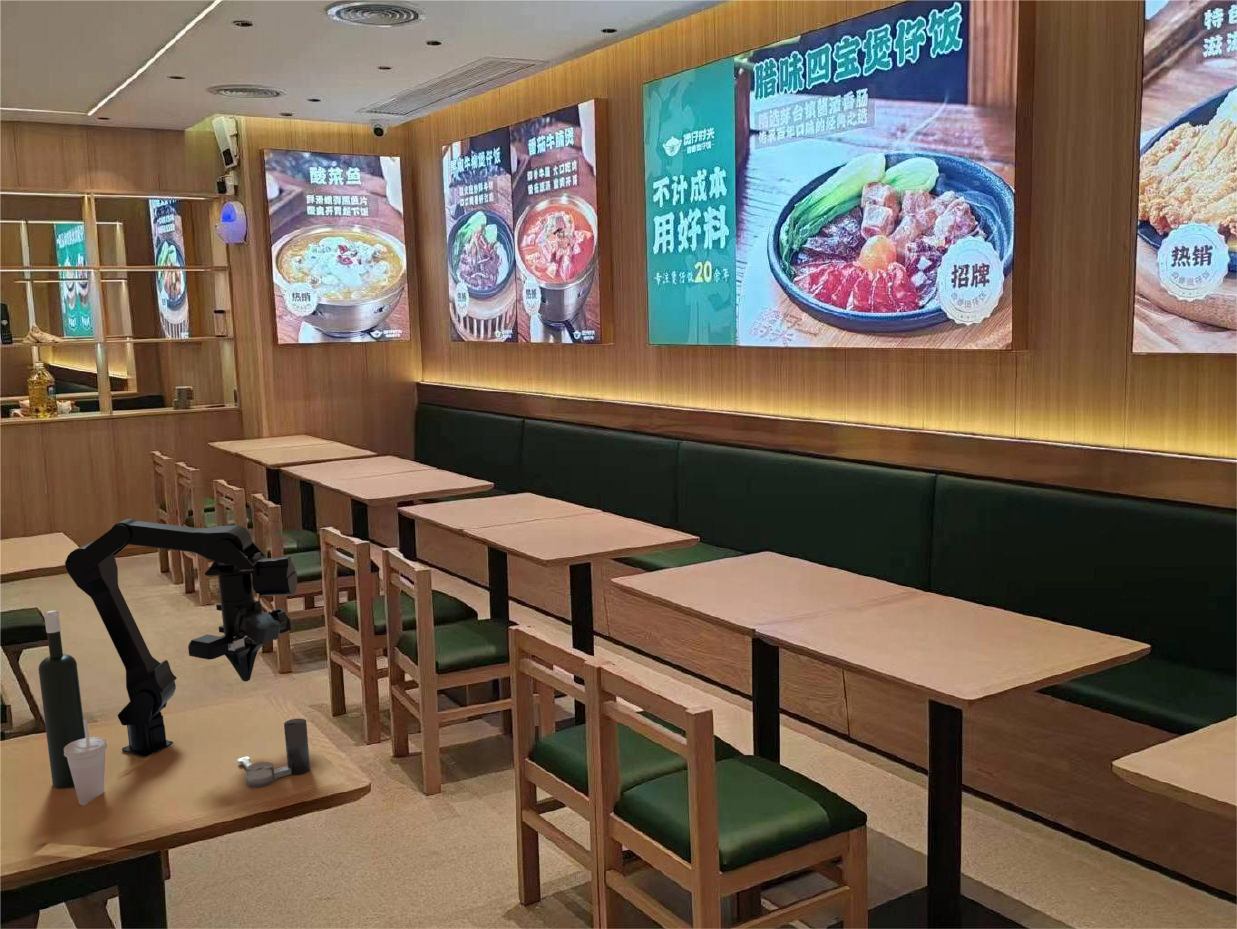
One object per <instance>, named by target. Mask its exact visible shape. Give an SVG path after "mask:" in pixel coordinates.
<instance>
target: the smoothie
mask: <svg viewBox="0 0 1237 929" xmlns="http://www.w3.org/2000/svg"><path fill="white" fill-rule="evenodd" d="M83 722H84V730H85V738H84V739H80V740H76V741H74V742H71V743H69V744H68V745H66V746H65V747H64V756H65V757H67V760H68V764H69V767H70V771H71V775H72V778H73V782H74V786H75V787H74V789H75V792H76V796H77V800H78V804H79V806H83V807H85V806H86V805H87V804H89V803H90V802H92V801H93V800H95V799H96V798H97V797H99V796H101V795H102V794H104V793H105V774H106V773H105V772H106V769H105V768H106V749H107V747H108V744H107V739H105V738H103V737H97V736H96V737H95V736H93V737H90V733H89V726H88V725H89V724H88V718H83Z"/></svg>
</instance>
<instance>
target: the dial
mask: <svg viewBox="0 0 1237 929" xmlns="http://www.w3.org/2000/svg"><path fill="white" fill-rule="evenodd" d="M283 726H284V728H283V730H284V739H285V750H286V761H287V762H286V763H287V764H286V765H285V766H281V767H277V768H275V766H274V763H272V762H270V761H269V762H268V761H262V762H261V761H260V762H256V763H252V762H251V758H250V757H249V756H243V757H241V758H238V759H237V760H236V761H237V764H238V765H239V766H243V767H244V768H245V775H246V785H247V786H248V787H250V788H262V787H266V786H269V785H271V784H273V783H275V780H276V779H279V778H283V777H288V776H289V775H290V776H291V775H292V776H299V775H304V774H306V773H309V771H311V763H310V762H311V761H310V760H311V759H310V749H309V738H308V726H307V720H306V719H305V718H292V719H289V720H287V721H285V722H284V723H283Z"/></svg>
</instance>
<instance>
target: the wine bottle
mask: <svg viewBox="0 0 1237 929" xmlns="http://www.w3.org/2000/svg"><path fill="white" fill-rule="evenodd" d="M43 615H44V624H45V632H46V633H47V634H46V636H47V644H48V652H49V656H47V657H45V658H44V659H43V660H41V662H40V663H39V665H38V676H39V686H40V691H41V692H40V693H41V699H42V709H43V716H44V723H45V732H46V740H47V741H46V742H47V749H48V756H49V764H50V765H49V766H50V772H51V773H50V774H51V781H52V786H53V787H54V788H56V789H70V788H75V786H74V782H73V778H72V775H71V771H70V767H69V764H68V760H67V757H65V756H64V747H65V746H66V745H68V744H69V743H71V742H74V741H76V740H80V739H84V738H85V730H84V722H83V720H84V714H83V713H84V712H83V707H82V706H83V704H82V697H81V688H80V680H79V673H78V664H77V660H76V659H75V658H74V657H73V656H72V655H71V654H67V653H63V652H64V651H63V644H62V636H61V621H60V613H59V610H48V611H46V612H43Z"/></svg>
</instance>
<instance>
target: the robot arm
mask: <svg viewBox="0 0 1237 929" xmlns="http://www.w3.org/2000/svg"><path fill="white" fill-rule="evenodd" d="M129 545H130V546H139V547H147V548H156V549H163V550H172V551H180V552H189V553H193V554H196V555H198V556H200V557H203V558H204V559H206V560H209V561H213V562H212V564H211V566H209V568H207V569H208V570H205V572H204V575H205V576H206V577H209V576H210V577H211V576H217V580H218V590H219V601H220V603H216V611H219V612H220V611H221V619H222V625H219V626H218V633H222V634H224V635H221V636H218V635H212V634H205V635H202V636H199V637H195V638H193V639H191V640H190V641H189V643H188V646H187V648H188V656H189V657H193V658H199V659H204V660H215V659H217V658H220V657H222V656H225V657H226V658H227V660H228V661H229V662H230V664H231V665H232V667H233V668H234V670H235V671H236V673H237V674H238V676H239V678H240V679H241V681H243V682H245V683H247V682H249V681H251V678H252V677H251V676H252V674H253V671H254V670H253V669H254V666H255V661H256V658H257V654H258V652H259V650H260V649H261V648H262V647H263V645H265V644H267V643H269V642H271V641H273V640H274V641H276V640H278V639H279V637H280V634H284V633H286V632H289V631H291V630H292V621H291V619H290V617H289V616H288V615H287V612H286V610H285V609H283V608H281V607H279V608H275V609H273V610H272V611H269V610H268V611H263V608H262V605H261V603H260V600H258V599H257V600H255V594H259V596H260V597H270V596H290V595H295V593H296V591H297V587H298V573H297V571H296V568H295V565H294V564H293V562H292V557H291V556H289V555H288V556H281V557H271V558H267V556H266V554H265V553H264V552H263V551H262V550H261V549H260V548H259V547H258V546H257V544H256V543H255V542H254V541H253V538H252V536H251V534H250V532H249V531H248V530H247V528H246V527H244V526H242V525H238V524H237V525H234V524H233V525H219V526H218V525H217V526H210V527H192V526H191V527H190V526H185V525H184V526H183V525H175V524H166V523H159V522H149V521H143V520H142V521H140V520H137V519H134V518H126V519H124V520H121V521H119V522H117V523H115V524H114V525H113V526H112V527H111V528H110V529H109V530H108V531H106V532H105V533H104V534H103V535H101V536H100V537H98V538H97V539H95V540H93V541H90V542H88V543H86V544H84V545H81V546H79V547H77V548H76V549H74V550H72V551H70V553H69V554H68V555H67V557H66V559H65V561H64V566H65V567H64V568H65V570H66V572H67V575H69V577H70V578H71V579H72V581H73V583H74V584H75V586H76V587H77V588H79V589H80V590H81V591H83V593H85V594H87V596H88V597H90V599H91V600H92V602H93V604H94V605H95V606H94V607H95V608H96V610H97V612H98V615H99V616H100V618H101V620H102V623H103V624H104V627H105V629H106V631H107V634H108V635H109V637H110V639H111V641H112V643H113V645H114V648H115V649H116V652H117V655H118V656H119V658H120V660H121V662H122V665H123V667H124V670H125V687H126V693H127V695H128V700H129V702H128V703H127V704H126V705H125V706H124V707H123V708H122V709H121V711H120V712H118V714H117V718H118V721H120V723H121V726H126V729H127V736H128V737H127V738H128V745H126V746H124V747H121V752H123V753H126V754H131V755H133V756H138V757H141V758H146V757H149V756H151V755H153V754H155V753H157V752H158V753H159V752H160V751H162V750H164V749H166V748H168V747H170V746H171V745H173V744H174V741H172V740H169V739H167V735H166V726H165V722H164V720H165V719H164V715H163V714H162V710H163V709H165V708H166V707H167V704H168V701H169V700H170V699H171V698H172V697H173V696H174V694H175V691H176V687H177V685H176V680H177V676H176V675H174V673H173V671H172V669H171V664H170V663H169V661H168V660H167V659H165V660H163V661H162V662H159V661H158V660H157V659H156V658H154V656H152V654H151V652H150V650H149V647H148V645H147V643H146V642H145V639H144V637H143V636H142V633H141V632H140V629H139V627H138V625H137V623H136V621H135V619H134V616H133V614H132V612H131V609H130V608H129V606H128V604H127V601H126V599H125V597H124V595H123V593H122V592H121V588H120V587H119V579H118V578H119V577H118V576H119V570H118V568H119V567H118V564H117V560H116V557H115V556H117V555H118V554H119V553H121V552H122V551H123V550H124V549H125V548H126V547H127V546H129ZM254 592H255V593H254Z"/></svg>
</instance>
